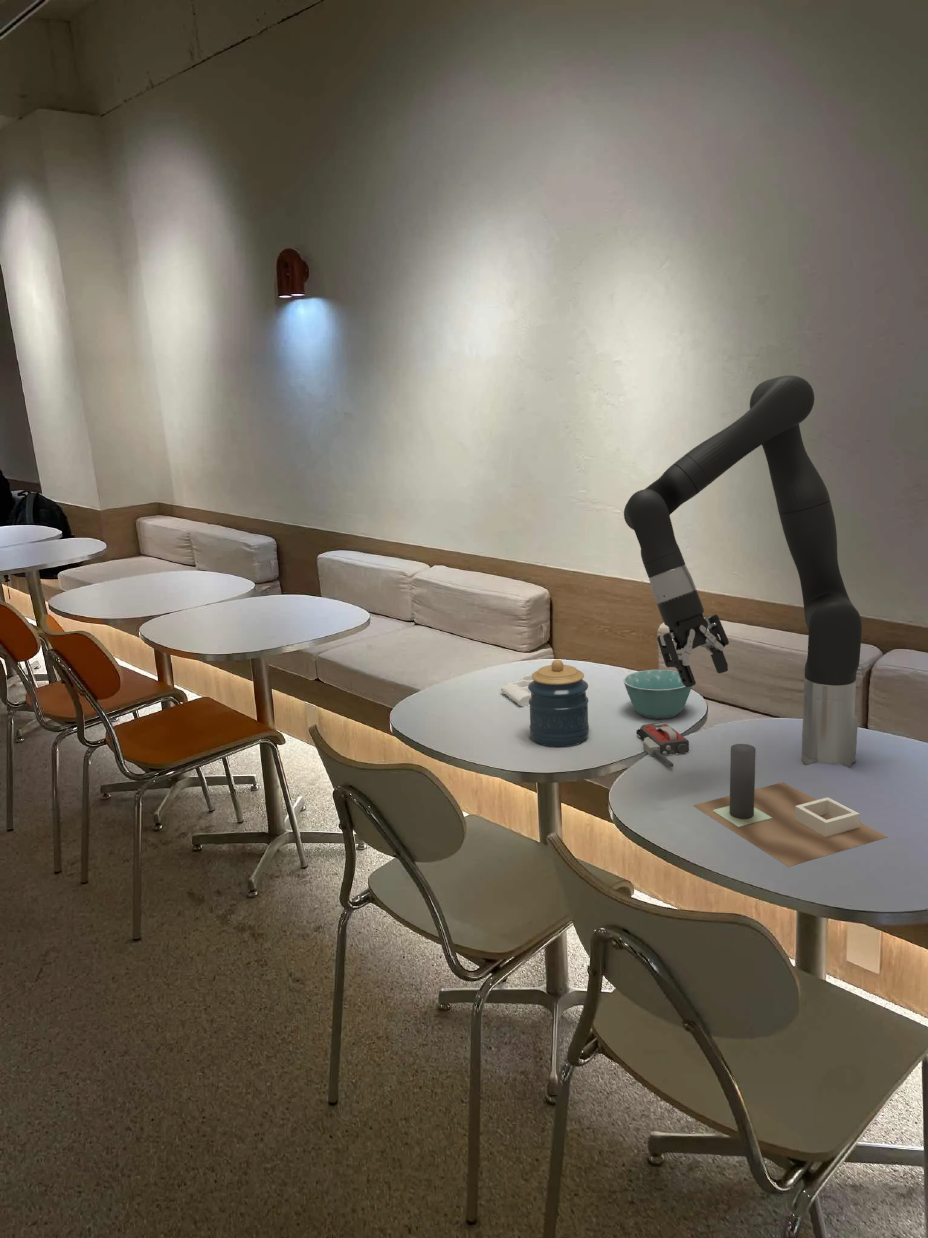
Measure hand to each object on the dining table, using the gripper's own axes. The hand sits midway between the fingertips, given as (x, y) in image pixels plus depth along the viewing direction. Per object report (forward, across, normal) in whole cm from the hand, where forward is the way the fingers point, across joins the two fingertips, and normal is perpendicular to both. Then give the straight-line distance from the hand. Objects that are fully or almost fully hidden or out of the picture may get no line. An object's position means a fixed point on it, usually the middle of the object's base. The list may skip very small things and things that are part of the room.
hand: (707, 679), depth 163 cm
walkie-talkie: (+14, +6, +26) cm, 30 cm away
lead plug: (+23, -8, -4) cm, 24 cm away
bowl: (+8, +22, +42) cm, 48 cm away
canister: (+4, -5, +44) cm, 44 cm away
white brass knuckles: (-4, +8, +67) cm, 68 cm away
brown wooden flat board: (+27, -4, -9) cm, 29 cm away
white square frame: (+28, 0, -14) cm, 31 cm away
